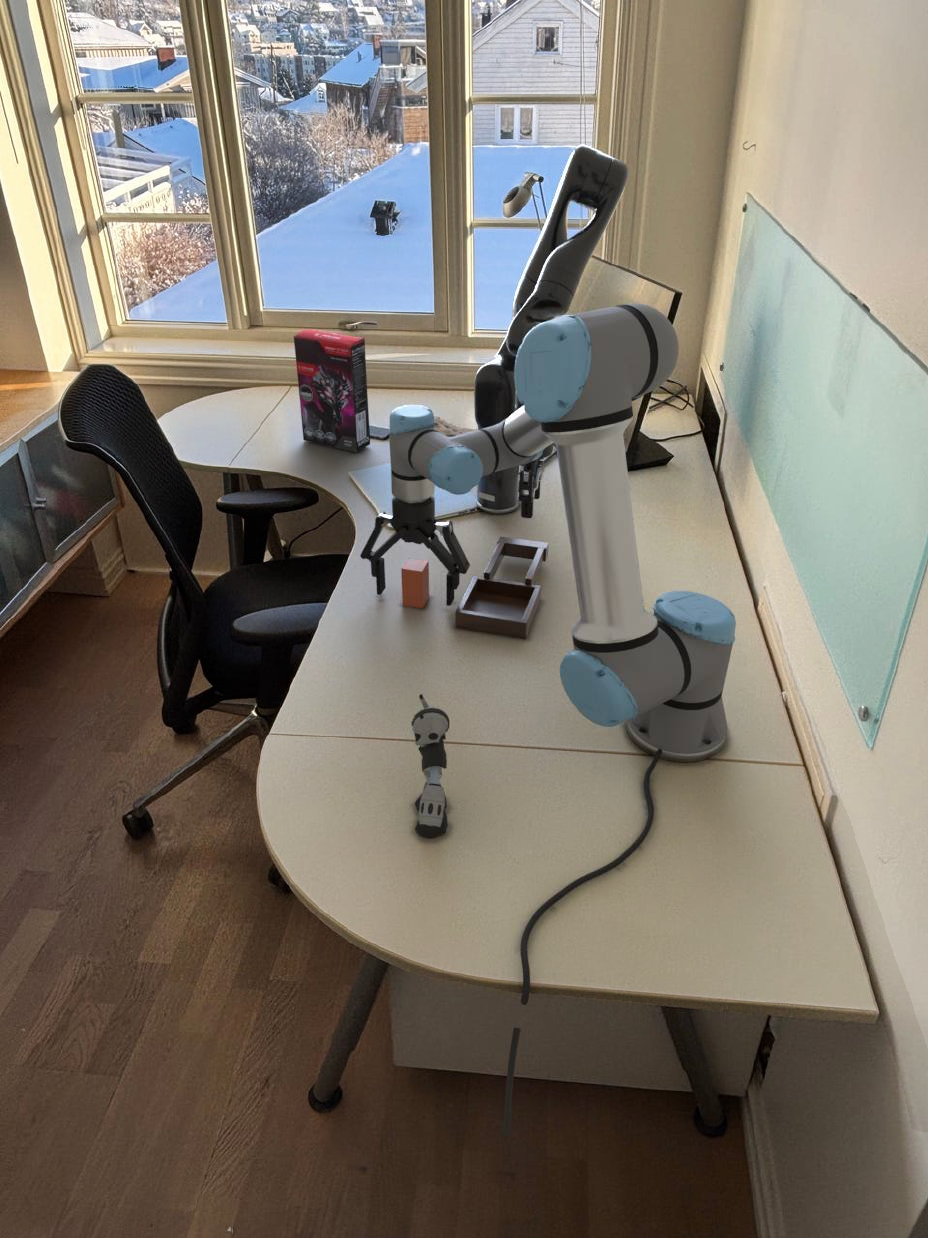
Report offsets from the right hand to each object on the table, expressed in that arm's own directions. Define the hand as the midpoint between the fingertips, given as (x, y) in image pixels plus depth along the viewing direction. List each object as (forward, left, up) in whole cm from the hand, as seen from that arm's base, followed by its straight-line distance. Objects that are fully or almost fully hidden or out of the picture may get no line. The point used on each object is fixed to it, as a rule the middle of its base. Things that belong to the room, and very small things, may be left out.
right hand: (415, 596), depth 173 cm
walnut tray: (+7, -16, -1) cm, 18 cm away
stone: (+72, +15, -1) cm, 73 cm away
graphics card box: (+65, +42, -1) cm, 77 cm away
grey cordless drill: (-52, -19, -1) cm, 55 cm away
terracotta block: (0, 0, -1) cm, 1 cm away
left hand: (+20, -17, +11) cm, 29 cm away
